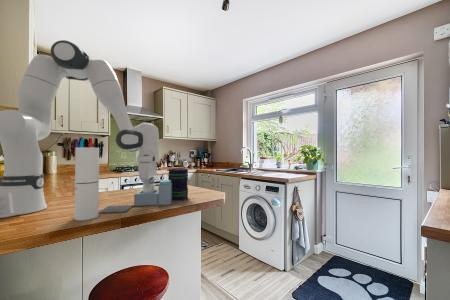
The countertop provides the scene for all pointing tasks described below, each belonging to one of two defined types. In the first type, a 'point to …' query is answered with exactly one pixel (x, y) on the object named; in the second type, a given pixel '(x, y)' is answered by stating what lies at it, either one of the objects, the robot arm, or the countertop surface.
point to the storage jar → (179, 184)
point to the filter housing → (155, 196)
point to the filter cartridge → (151, 188)
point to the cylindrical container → (86, 183)
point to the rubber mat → (116, 209)
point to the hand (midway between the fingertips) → (148, 187)
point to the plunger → (165, 182)
